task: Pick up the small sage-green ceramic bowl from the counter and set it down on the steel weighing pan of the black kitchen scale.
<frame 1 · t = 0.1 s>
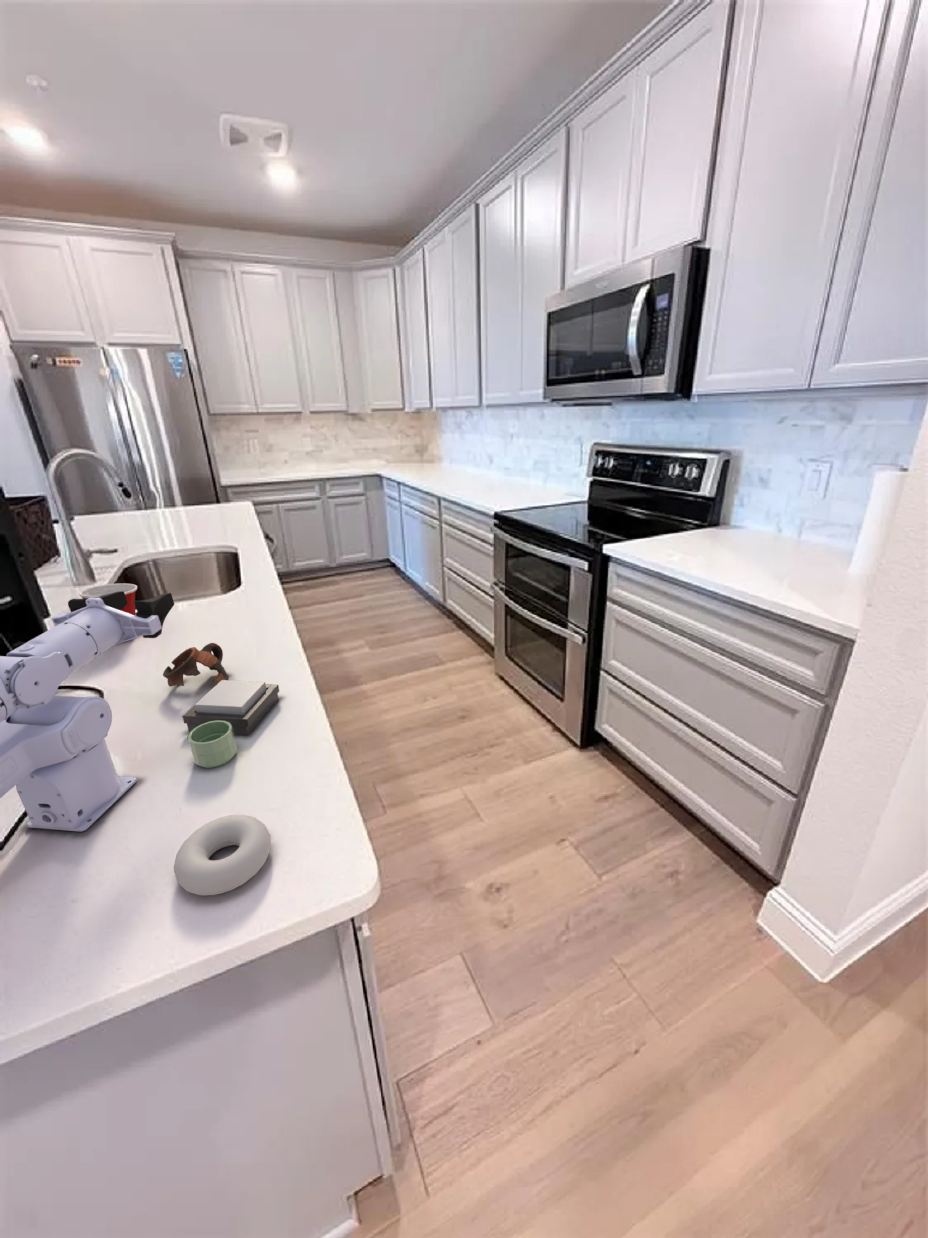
hand: (147, 598, 77), 22 cm above the table, tool horizontal, fingers open, 7 cm apart
scale: (236, 714, 86), on the table
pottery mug: (204, 683, 96), on the table
plastic cup: (123, 638, 116), on the table
scale pan: (232, 697, 85), point 3 cm above the table, slide at 0.0 cm
donut: (227, 864, 58), on the table
bowl: (216, 756, 76), on the table
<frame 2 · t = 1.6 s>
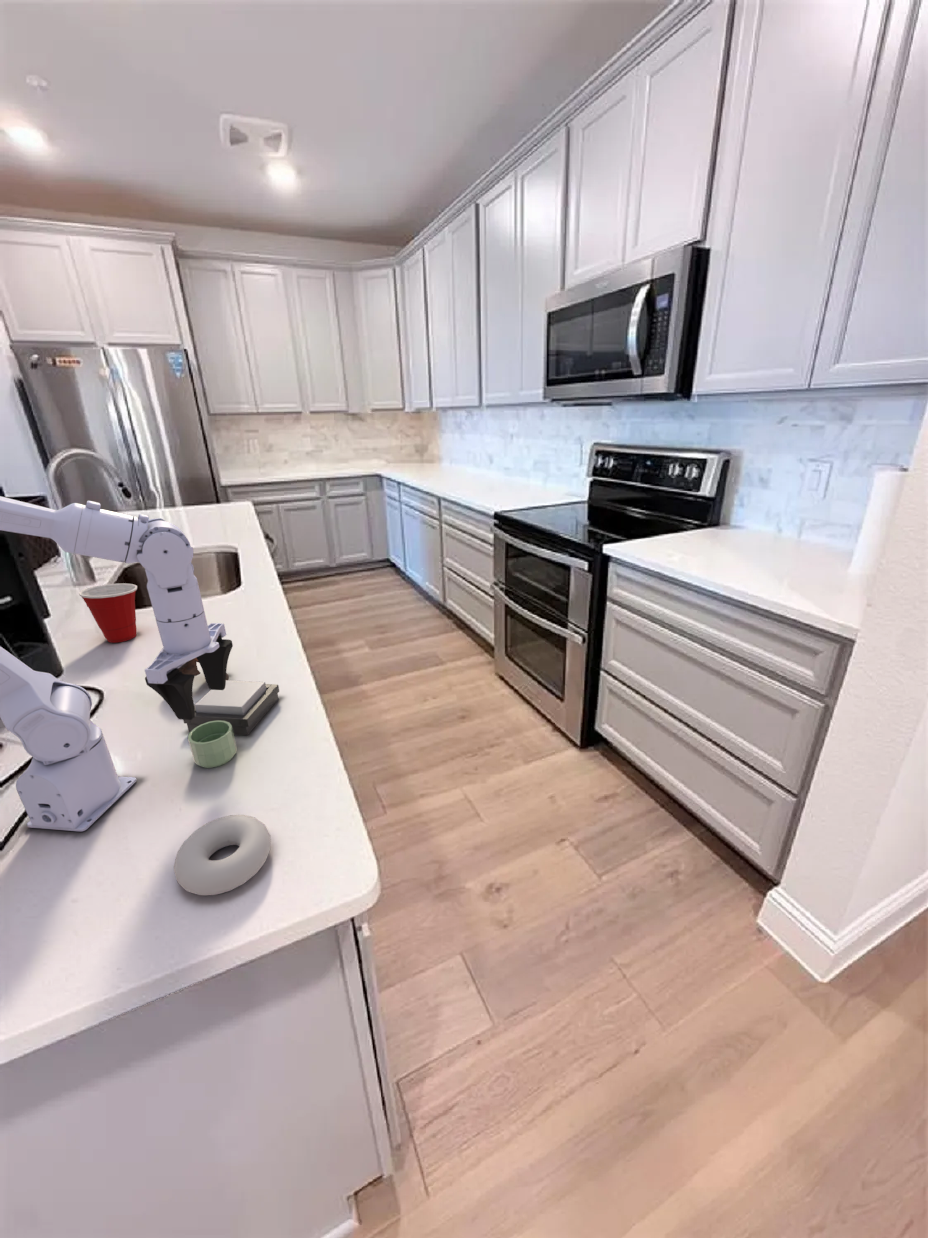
hand: (202, 702, 72), 9 cm above the table, tool pointing down, fingers open, 7 cm apart
nothing on the table moved.
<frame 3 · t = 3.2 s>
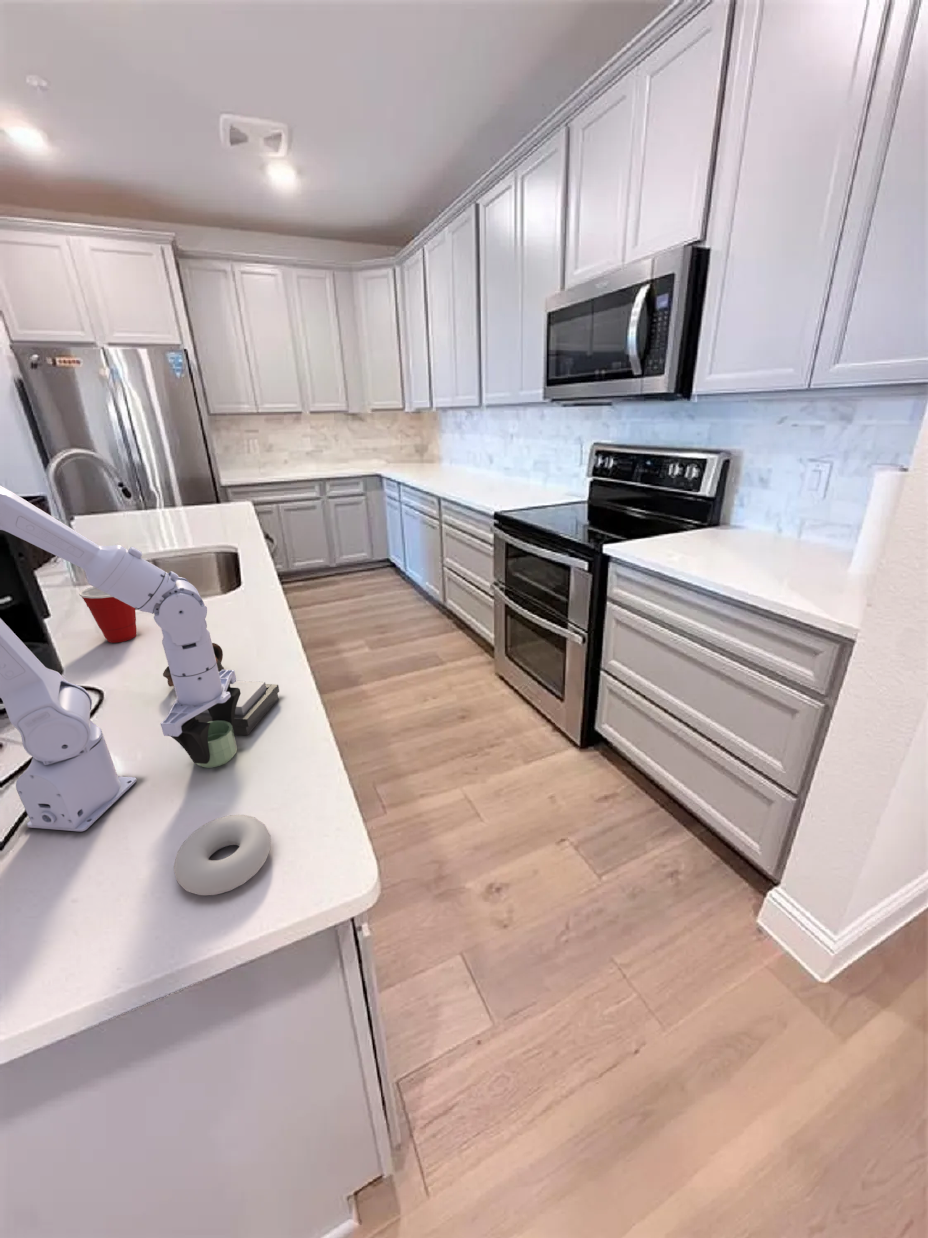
hand: (214, 748, 75), 2 cm above the table, tool pointing down, fingers closed on bowl, 6 cm apart
bowl: (216, 756, 76), on the table, touching gripper
everything else where it was.
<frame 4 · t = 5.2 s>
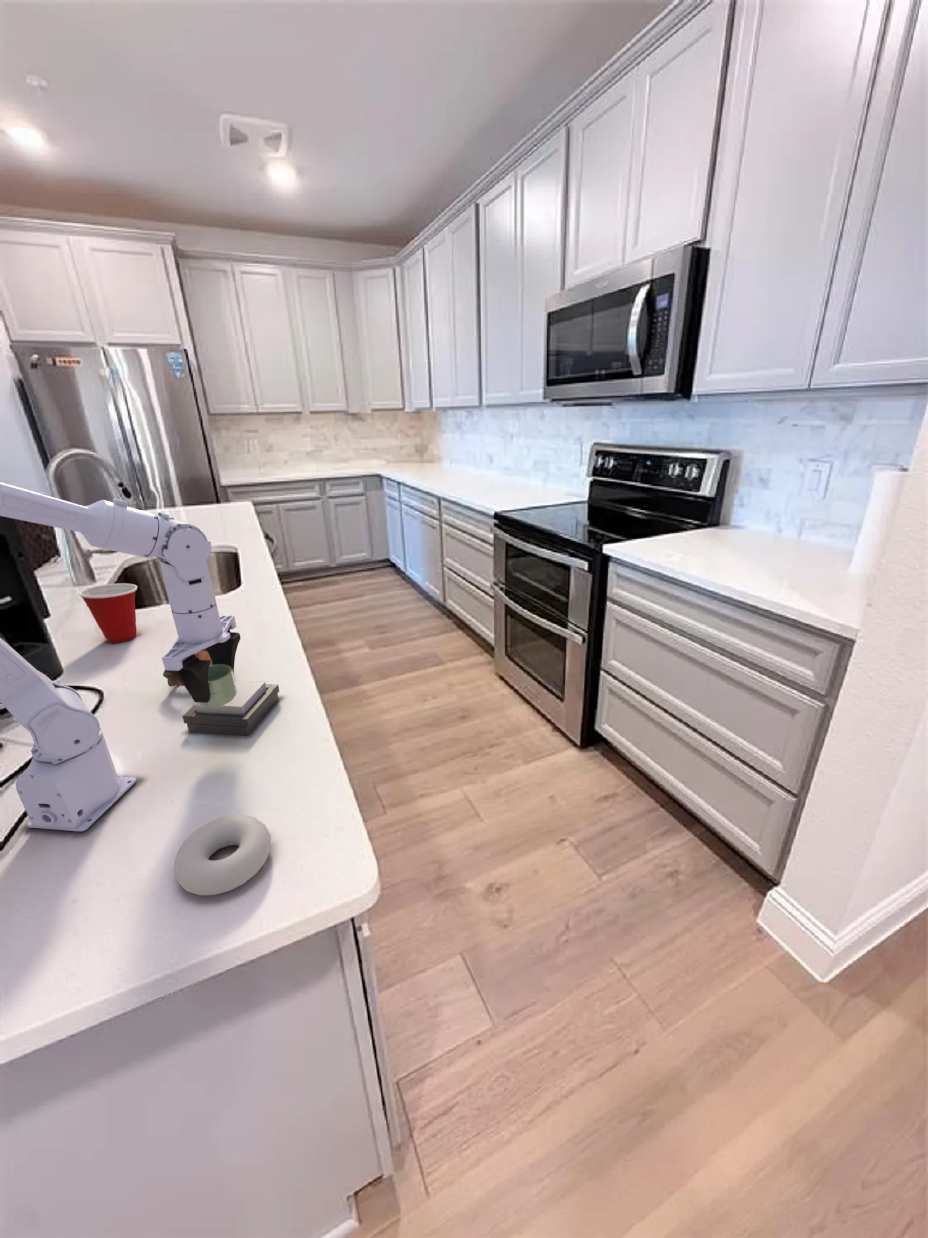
hand: (214, 690, 77), 9 cm above the table, tool pointing down, fingers closed on bowl, 6 cm apart
bowl: (217, 699, 77), point 7 cm above the table, touching gripper
everything else where it was.
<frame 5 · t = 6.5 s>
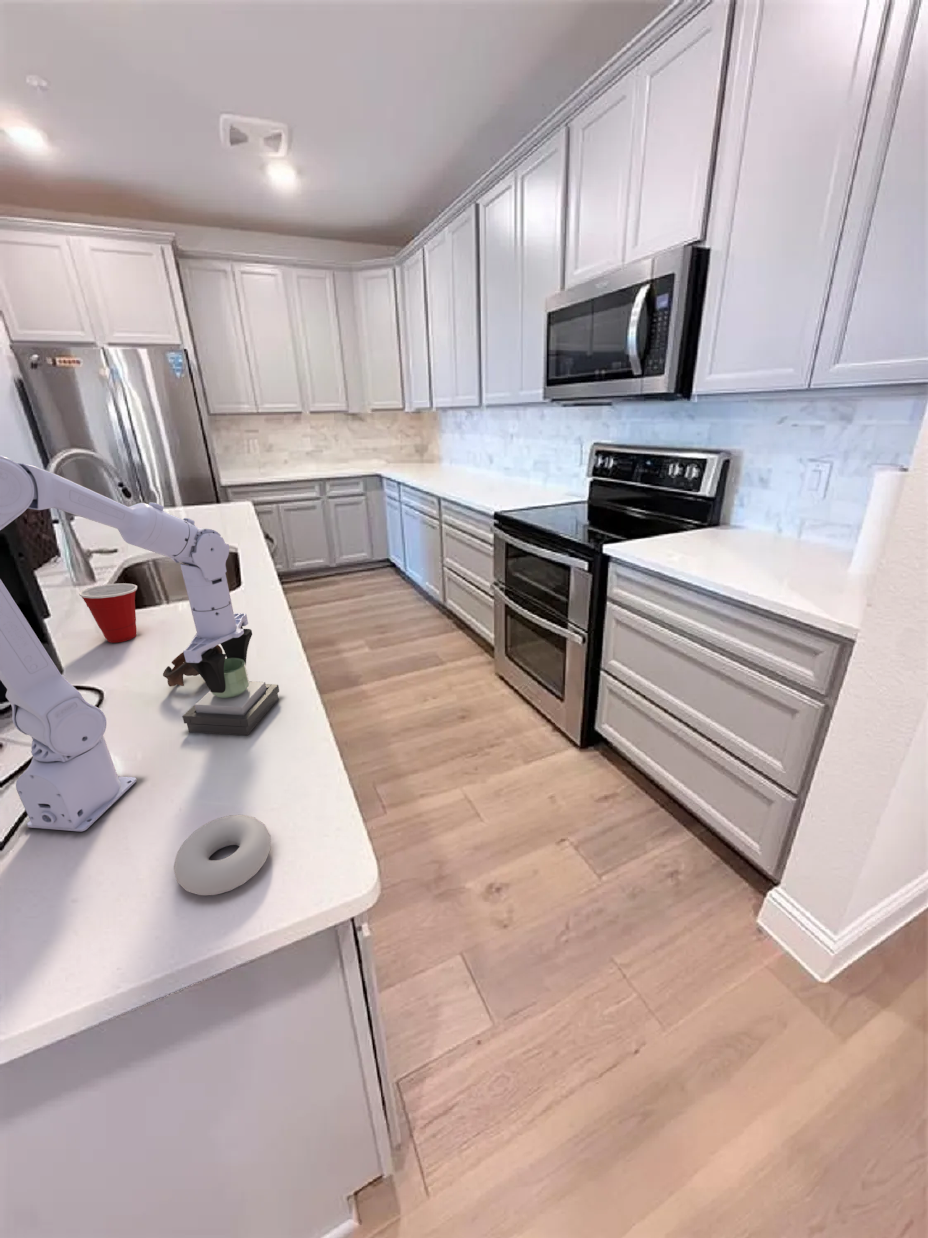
hand: (228, 681, 83), 6 cm above the table, tool pointing down, fingers closed on bowl, 6 cm apart
bowl: (231, 689, 84), point 5 cm above the table, touching gripper
everything else where it was.
when the fingers open (6 cm above the table, at t = 7.2 s): bowl stays where it is, resting on scale pan.
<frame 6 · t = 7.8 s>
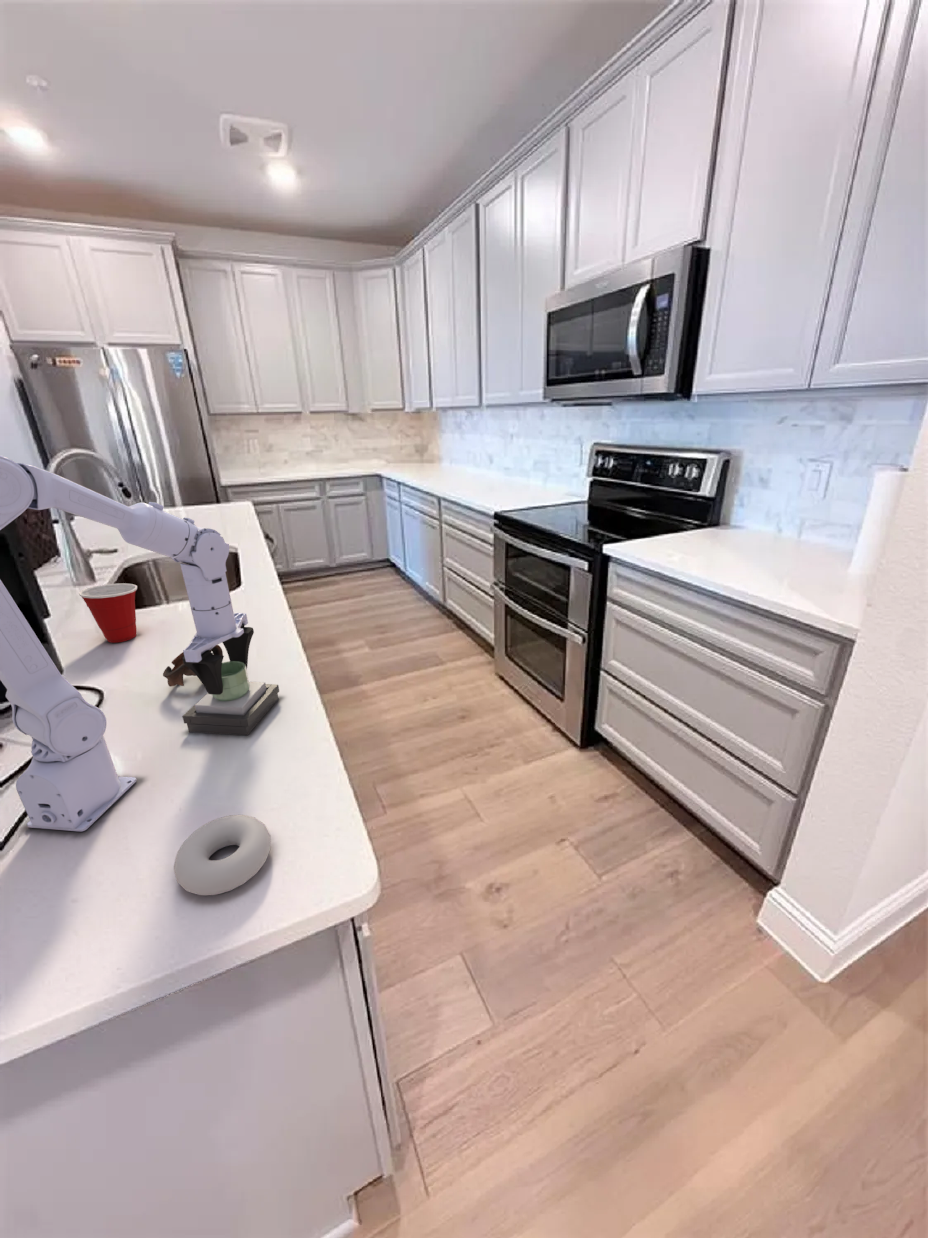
hand: (228, 681, 83), 6 cm above the table, tool pointing down, fingers open, 7 cm apart
scale pan: (232, 697, 85), point 3 cm above the table, slide at 0.0 cm, touching bowl
bowl: (231, 693, 84), point 4 cm above the table, touching scale pan
everything else where it was.
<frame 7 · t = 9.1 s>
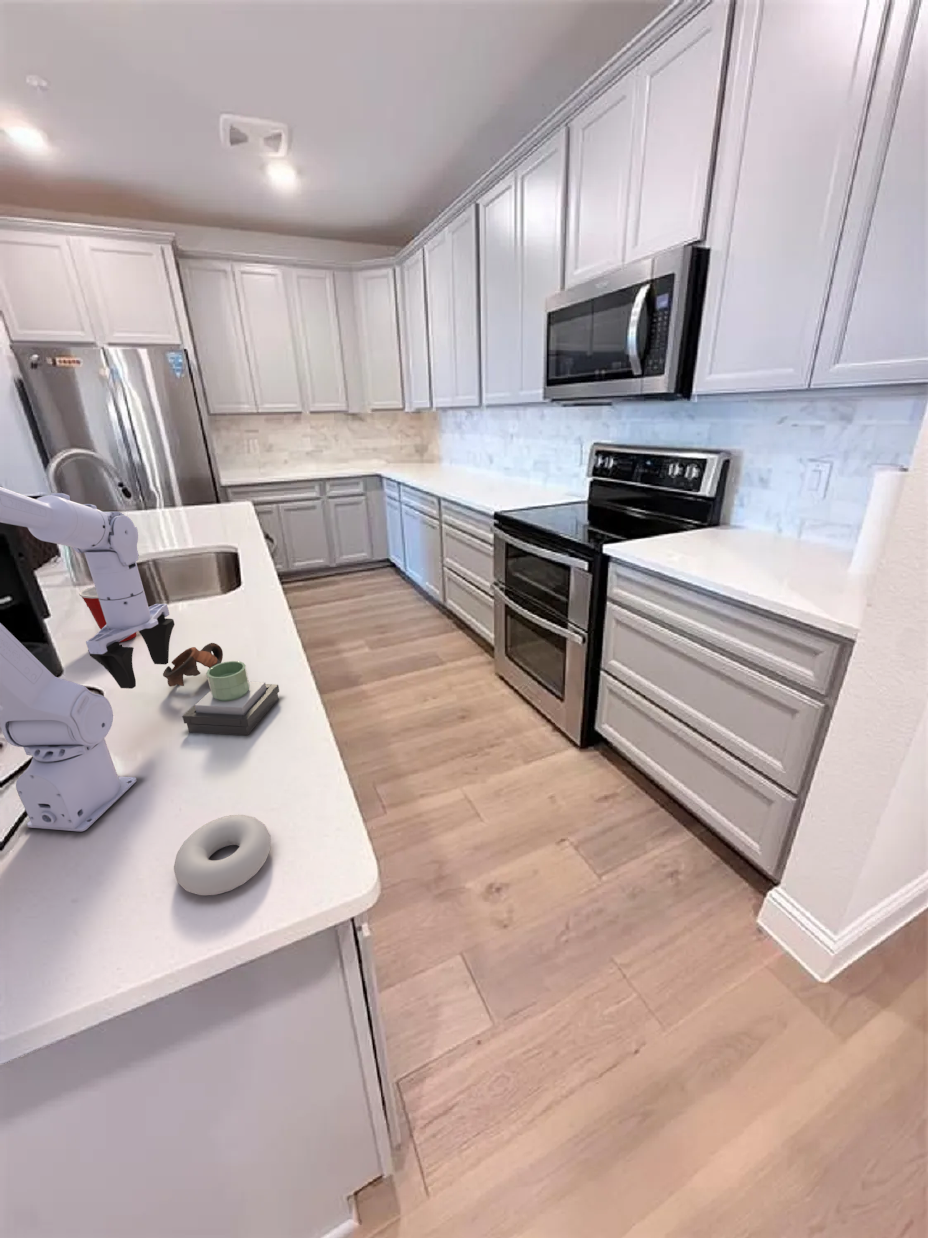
hand: (145, 674, 80), 9 cm above the table, tool pointing down, fingers open, 7 cm apart
nothing on the table moved.
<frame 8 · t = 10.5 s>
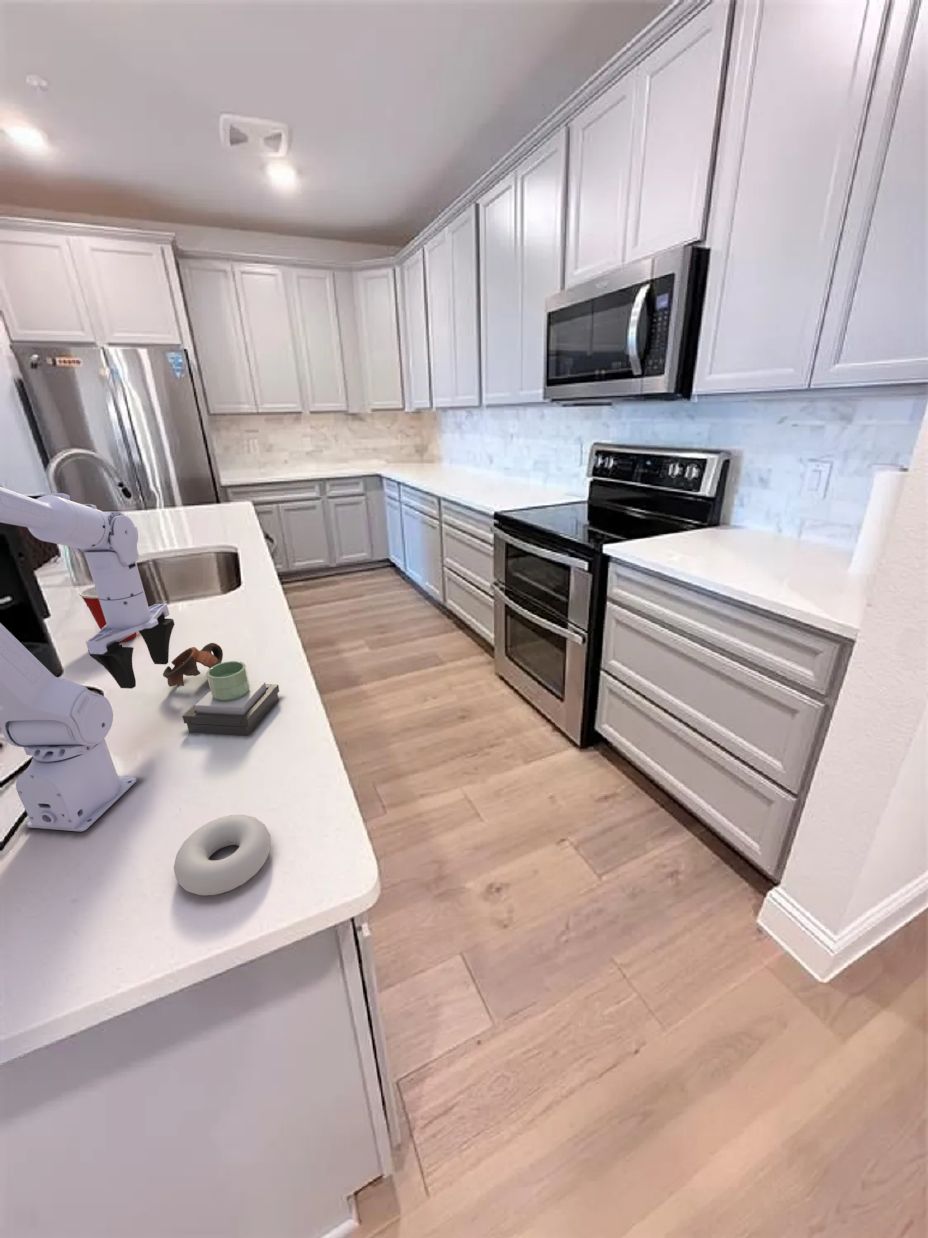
hand: (145, 674, 80), 9 cm above the table, tool pointing down, fingers open, 7 cm apart
nothing on the table moved.
at the end: bowl 0.0 cm off-centre on the scale, point 4.2 cm above the scale's base; bowl touching scale pan; bowl tilted 0° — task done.
